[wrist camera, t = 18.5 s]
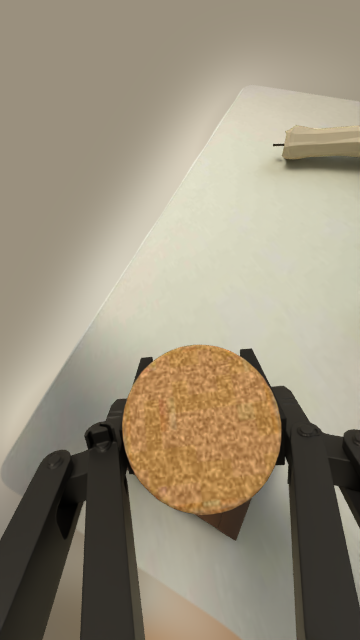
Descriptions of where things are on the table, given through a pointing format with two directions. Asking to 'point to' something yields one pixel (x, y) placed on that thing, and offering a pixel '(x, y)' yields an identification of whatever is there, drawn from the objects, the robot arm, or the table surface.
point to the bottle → (201, 429)
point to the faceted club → (321, 142)
